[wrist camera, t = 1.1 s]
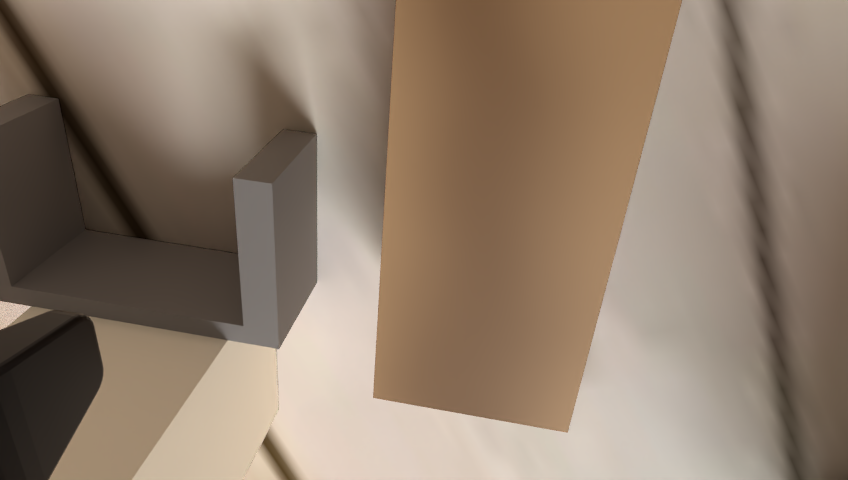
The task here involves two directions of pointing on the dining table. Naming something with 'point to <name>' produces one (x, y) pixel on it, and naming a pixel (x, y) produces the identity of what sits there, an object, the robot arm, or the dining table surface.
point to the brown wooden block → (508, 195)
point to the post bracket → (162, 304)
